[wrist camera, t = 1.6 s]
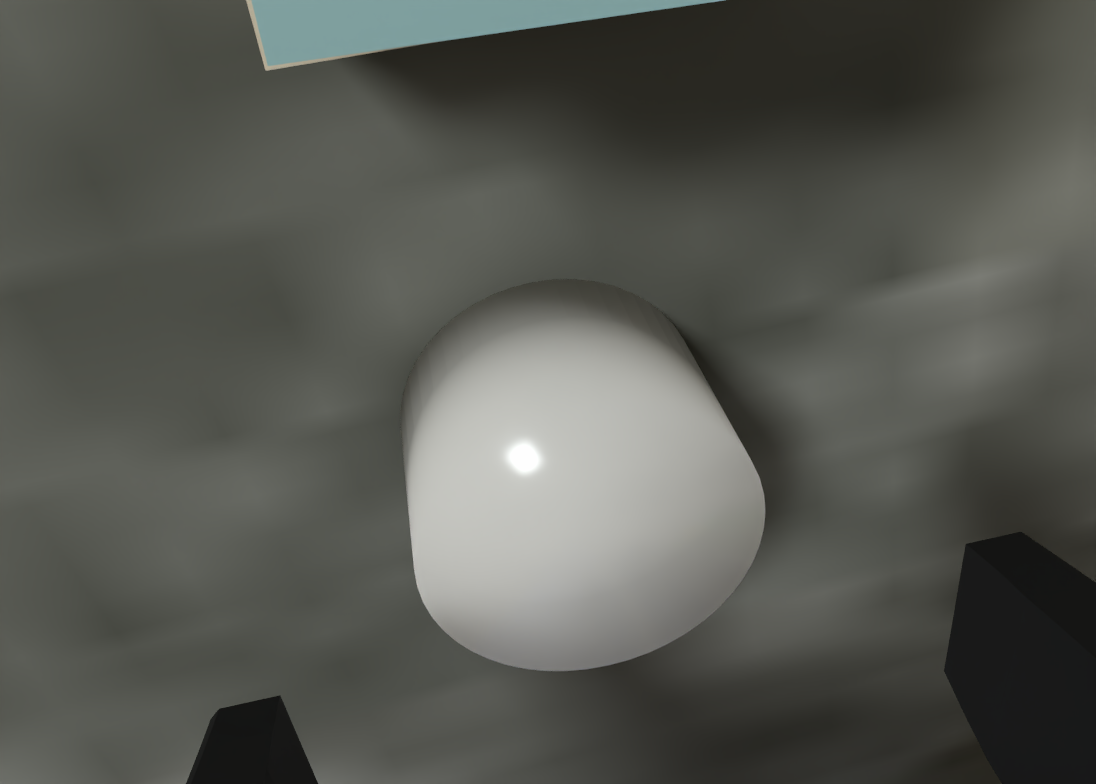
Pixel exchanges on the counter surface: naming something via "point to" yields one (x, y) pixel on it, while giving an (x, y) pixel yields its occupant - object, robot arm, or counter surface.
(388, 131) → the counter surface
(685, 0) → the teal block
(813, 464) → the counter surface
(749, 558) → the stoneware puck
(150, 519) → the counter surface
